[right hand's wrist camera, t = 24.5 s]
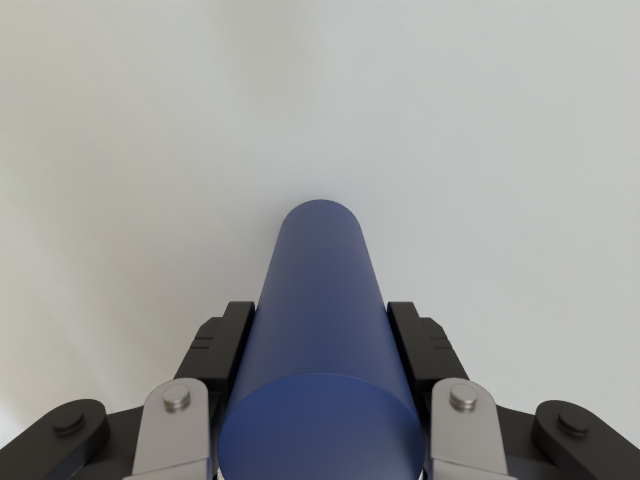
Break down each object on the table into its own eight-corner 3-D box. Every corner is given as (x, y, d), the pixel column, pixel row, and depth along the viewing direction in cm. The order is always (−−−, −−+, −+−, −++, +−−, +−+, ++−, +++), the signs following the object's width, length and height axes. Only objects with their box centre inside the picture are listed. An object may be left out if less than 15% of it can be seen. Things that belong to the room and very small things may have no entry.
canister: (267, 259, 20) (189, 496, 8) (298, 185, 18) (259, 342, 7) (341, 288, 20) (369, 550, 9) (376, 219, 19) (466, 417, 7)
